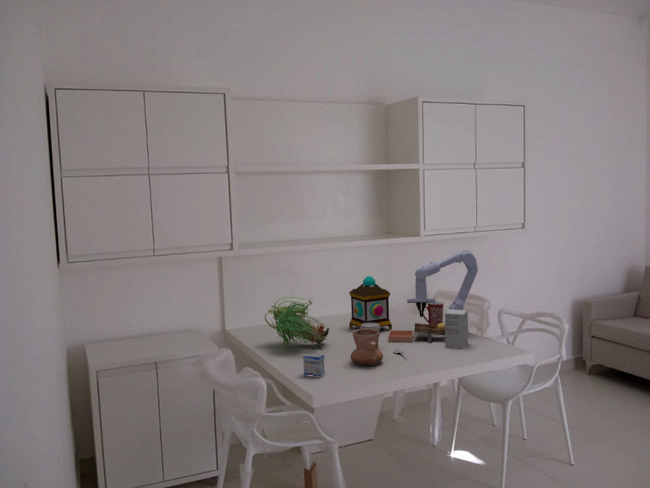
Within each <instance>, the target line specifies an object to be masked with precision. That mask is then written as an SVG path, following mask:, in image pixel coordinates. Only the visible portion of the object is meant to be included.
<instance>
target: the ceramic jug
mask: <svg viewBox="0 0 650 488" xmlns="http://www.w3.org/2000/svg"><path fill="white" fill-rule="evenodd" d="M380 335H381V332H380V330H379V331H377V330H374V329H361V328H358V329H354V330H353V331H352V338H353V341H354V344H355V346H356V349H354V350H353V351H352V352H351V353H350V360H351V361H352V362H353V363H354V364H356V365H360V366H373V365H376V364H379V363H380V362H381V361H382V360H383V358H384V354H383V352H382V351H381V350H380V349H379V348H378V349H377V348H376V345H377V343H378V344H379V339H380Z"/></svg>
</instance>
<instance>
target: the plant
mask: <svg viewBox="0 0 650 488" xmlns="http://www.w3.org/2000/svg"><path fill="white" fill-rule="evenodd" d="M283 299H299V300H300V299H301V300H306V297H305V298H303V297H299V296H298V297H296V296H289V297H287V296H286V297H281V298H279V299H277V301H276V302H275V303H274V305H271V307H270V308H271V309H268V310H267V312H266V313H265V314H264V320H265V322H266V323H267V325H268V326H269V327H270V328H272V329H274V330H276V332H277V333H276V334H278V336H279V337H278V336H277V337H275V338H277V339H279V338H280V339H283V343H282V345H283V346H285V347H284V348H285V349H287V347H288V345H289V344H290V342H292V341H294V342H295V343H296V345H299V344H300V345H302V343H303V344H304V345H308V347H310V349H312V350H313V349H314V350H316V349H317V346H318V345H319V347H320V346H322V347H323V345H322V343H324V342H325V340H326V341H327V337H328V335H329V331H330V327H327V326H328V324H326V325H325V323H322V322H320V320H318V318H316V317H315V316H312V315H311V314H309V311H312V312H313V310H311V309H310V308H309V306H311V305H312V303H313V302H312V301H311V299H313V297H311V298H309V299H308V302H298V301H295V300H284V301H282V302H280V303H279V304H278V302H279V301H281V300H283ZM285 303H290V304H289V305H283V304H285ZM277 304H278V305H277ZM276 305H277V306H276ZM281 305H282V306H281ZM268 314H273V315H272V316H273V317H272V319H273V320H275V321H274V322H275V324H274V323H273V321H271V323H269V321H268V320H267V318H266V316H267V315H268ZM306 318H307V319H306ZM317 323H319V324H317ZM324 329H325V330H324ZM298 341H300V342H298ZM315 344H316V346H315ZM316 352H319V351H318V350H316Z"/></svg>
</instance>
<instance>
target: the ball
mask: <svg viewBox="0 0 650 488" xmlns="http://www.w3.org/2000/svg"><path fill="white" fill-rule="evenodd" d="M437 328H438V329H440V330H445V323H440V324H438V326H437Z"/></svg>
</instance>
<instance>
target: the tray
mask: <svg viewBox="0 0 650 488" xmlns="http://www.w3.org/2000/svg"><path fill="white" fill-rule="evenodd" d="M387 338H388V343H413V342H414V330H400V329H399V330H396V329H395V330H394V329H393V330H392V329H391V330H389V332H388V337H387Z"/></svg>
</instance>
